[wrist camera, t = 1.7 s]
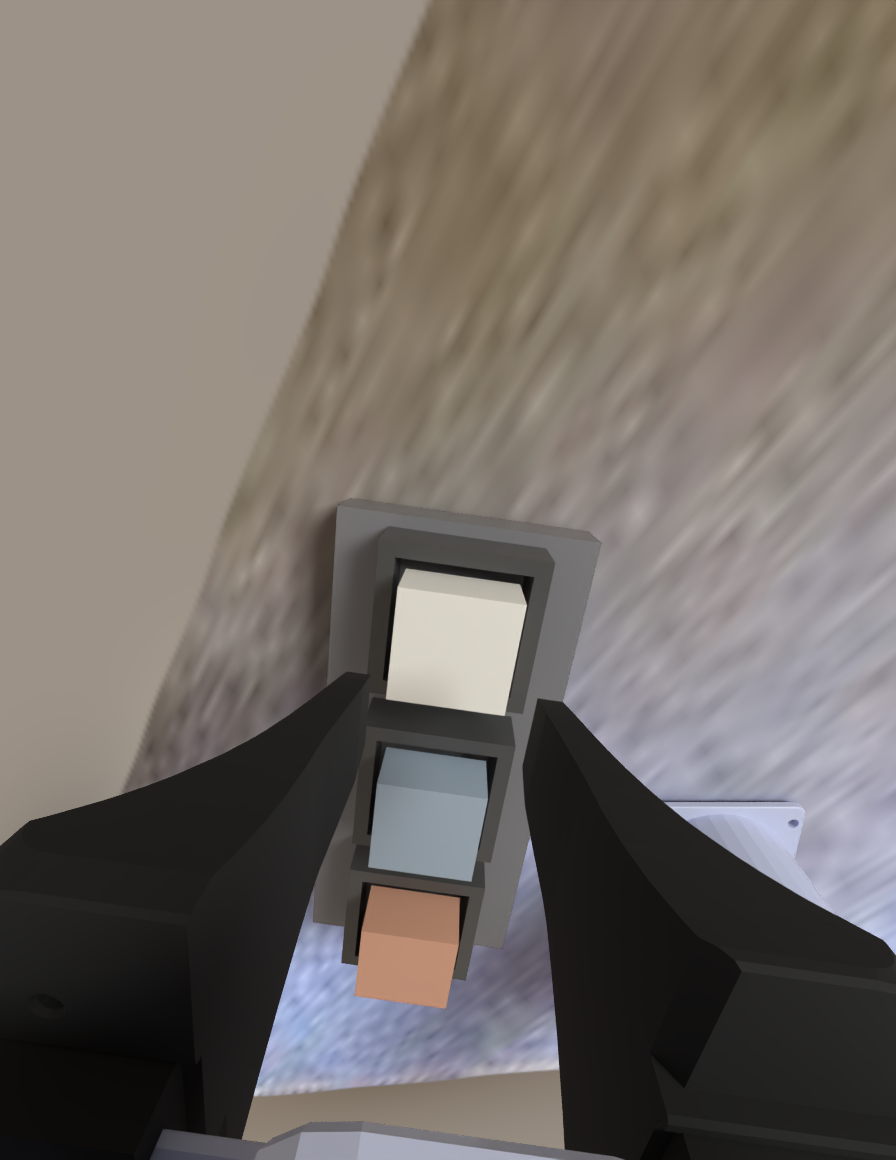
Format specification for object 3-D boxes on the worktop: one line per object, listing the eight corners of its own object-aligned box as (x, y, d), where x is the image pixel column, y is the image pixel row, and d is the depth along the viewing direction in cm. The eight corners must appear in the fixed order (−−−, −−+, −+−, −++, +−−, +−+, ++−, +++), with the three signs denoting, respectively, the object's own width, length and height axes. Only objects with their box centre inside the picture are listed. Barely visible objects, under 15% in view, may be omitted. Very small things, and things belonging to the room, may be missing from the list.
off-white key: (500, 684, 17) (504, 716, 15) (395, 669, 17) (385, 699, 15) (520, 584, 16) (526, 605, 14) (406, 568, 16) (397, 587, 14)
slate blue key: (471, 837, 20) (471, 881, 18) (378, 824, 20) (368, 867, 18) (486, 760, 18) (487, 799, 16) (386, 746, 18) (376, 783, 16)
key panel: (499, 911, 26) (505, 993, 22) (324, 886, 26) (299, 964, 22) (588, 531, 19) (617, 556, 15) (350, 497, 19) (321, 515, 15)
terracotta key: (447, 958, 22) (445, 1008, 20) (364, 946, 22) (354, 995, 20) (459, 897, 21) (458, 944, 19) (371, 885, 21) (361, 931, 19)
